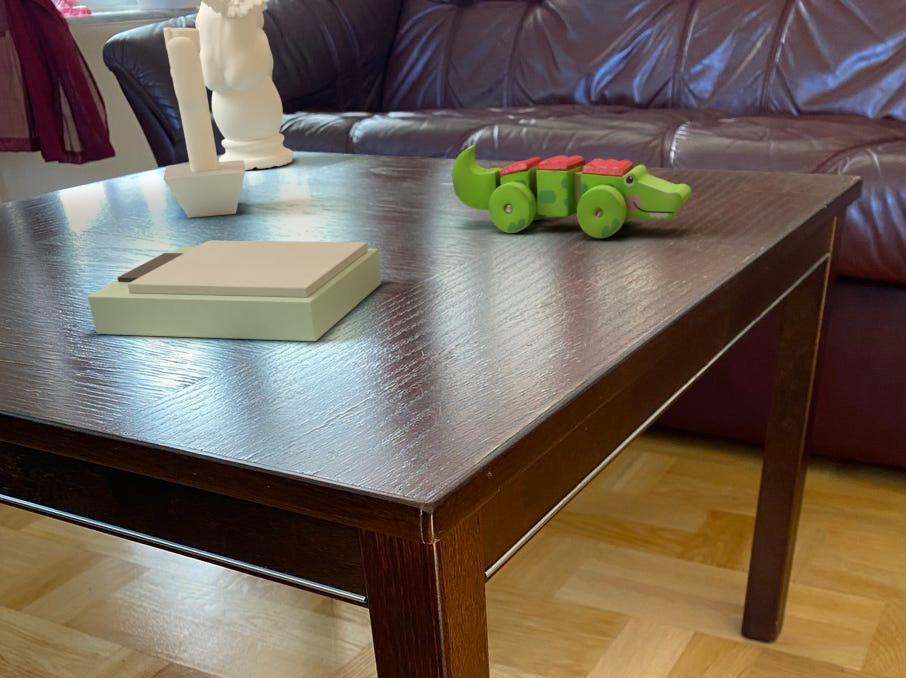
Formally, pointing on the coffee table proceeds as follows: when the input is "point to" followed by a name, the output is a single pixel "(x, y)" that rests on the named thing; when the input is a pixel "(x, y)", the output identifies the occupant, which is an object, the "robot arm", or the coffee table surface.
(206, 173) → the cream block with rod
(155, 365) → the coffee table surface
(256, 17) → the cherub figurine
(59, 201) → the coffee table surface
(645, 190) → the toy crocodile
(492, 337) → the coffee table surface
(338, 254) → the scale
